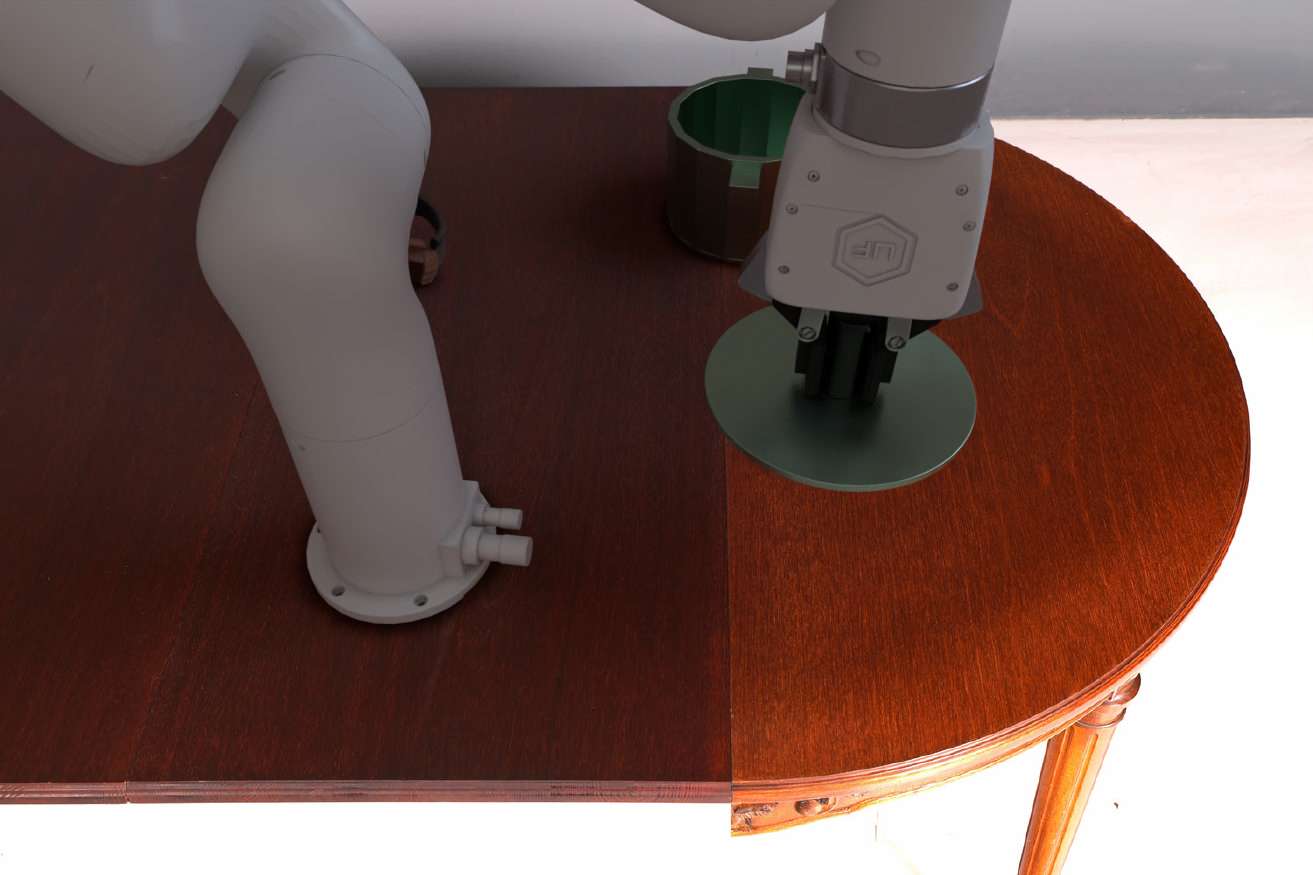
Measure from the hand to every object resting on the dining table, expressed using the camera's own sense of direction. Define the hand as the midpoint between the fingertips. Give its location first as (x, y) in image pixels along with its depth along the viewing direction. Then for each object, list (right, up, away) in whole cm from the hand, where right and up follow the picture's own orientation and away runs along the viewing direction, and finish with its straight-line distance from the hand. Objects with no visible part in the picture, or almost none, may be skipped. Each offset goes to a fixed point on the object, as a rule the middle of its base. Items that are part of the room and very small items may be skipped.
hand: (840, 381), depth 60 cm
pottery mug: (-35, +11, +32) cm, 49 cm away
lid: (0, 0, +1) cm, 1 cm away
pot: (-2, +17, +38) cm, 42 cm away
